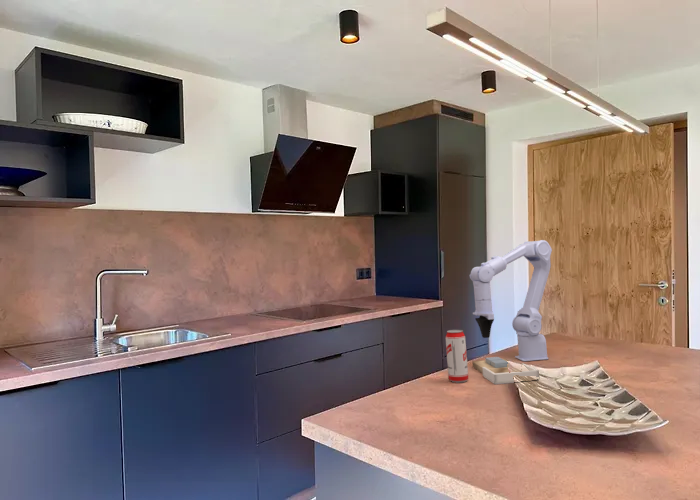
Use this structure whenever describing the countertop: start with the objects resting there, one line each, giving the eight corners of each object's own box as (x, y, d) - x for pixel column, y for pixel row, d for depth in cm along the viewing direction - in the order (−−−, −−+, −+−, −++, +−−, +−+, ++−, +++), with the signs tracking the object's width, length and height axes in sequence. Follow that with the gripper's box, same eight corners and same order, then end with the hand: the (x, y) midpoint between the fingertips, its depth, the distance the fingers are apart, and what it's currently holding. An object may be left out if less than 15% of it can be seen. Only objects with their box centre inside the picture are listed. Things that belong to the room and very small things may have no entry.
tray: (524, 372, 161) (523, 363, 161) (539, 380, 150) (538, 370, 150) (483, 376, 160) (482, 367, 160) (495, 384, 149) (494, 374, 149)
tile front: (503, 364, 166) (503, 359, 167) (508, 366, 162) (508, 362, 162) (490, 365, 166) (490, 360, 166) (495, 368, 162) (495, 363, 162)
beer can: (467, 378, 159) (463, 328, 160) (470, 382, 153) (466, 331, 154) (447, 379, 160) (444, 330, 160) (449, 383, 154) (445, 333, 154)
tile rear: (498, 361, 171) (497, 356, 172) (503, 363, 167) (502, 359, 167) (485, 362, 171) (485, 357, 171) (490, 365, 167) (489, 360, 167)
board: (505, 364, 175) (505, 358, 175) (521, 372, 161) (521, 366, 161) (472, 367, 174) (472, 361, 174) (486, 376, 160) (485, 369, 160)
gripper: (466, 299, 183) (468, 335, 183) (478, 302, 169) (481, 341, 168) (484, 297, 184) (487, 333, 183) (498, 300, 169) (501, 339, 169)
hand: (486, 337), depth 176 cm, fingers closed
